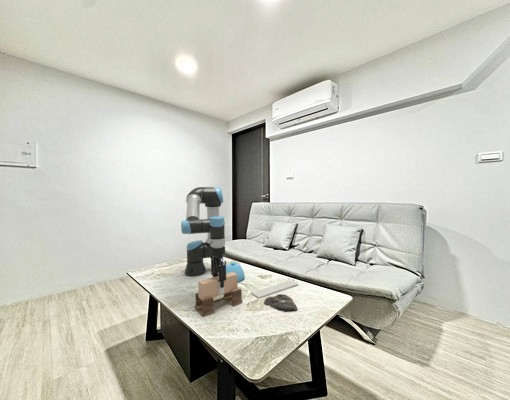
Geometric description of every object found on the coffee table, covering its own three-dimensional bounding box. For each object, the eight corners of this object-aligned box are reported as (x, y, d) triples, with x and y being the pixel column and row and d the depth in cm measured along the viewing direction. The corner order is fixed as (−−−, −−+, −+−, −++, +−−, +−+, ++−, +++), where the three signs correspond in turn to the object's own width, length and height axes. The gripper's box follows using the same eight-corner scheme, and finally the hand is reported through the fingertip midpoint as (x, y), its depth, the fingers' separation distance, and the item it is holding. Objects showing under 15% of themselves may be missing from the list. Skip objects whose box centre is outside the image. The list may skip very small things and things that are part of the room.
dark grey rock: (276, 293, 125) (259, 304, 113) (276, 287, 125) (259, 296, 113) (306, 304, 112) (291, 316, 101) (306, 296, 112) (291, 308, 101)
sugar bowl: (218, 278, 149) (217, 262, 149) (236, 273, 158) (236, 258, 158) (229, 285, 137) (229, 267, 137) (248, 279, 147) (248, 262, 146)
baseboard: (248, 293, 127) (258, 299, 118) (248, 288, 127) (258, 294, 118) (287, 281, 143) (298, 286, 135) (287, 276, 143) (298, 281, 135)
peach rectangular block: (198, 297, 107) (198, 281, 107) (232, 286, 120) (232, 271, 120) (202, 300, 103) (202, 284, 103) (237, 289, 116) (237, 274, 116)
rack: (194, 308, 110) (194, 293, 110) (232, 295, 122) (232, 283, 122) (202, 317, 101) (202, 301, 101) (242, 302, 114) (242, 289, 114)
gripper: (203, 244, 117) (205, 287, 117) (218, 250, 102) (220, 300, 102) (216, 242, 121) (217, 284, 121) (232, 248, 106) (234, 295, 106)
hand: (218, 291), depth 112 cm, fingers closed on peach rectangular block, 5 cm apart
